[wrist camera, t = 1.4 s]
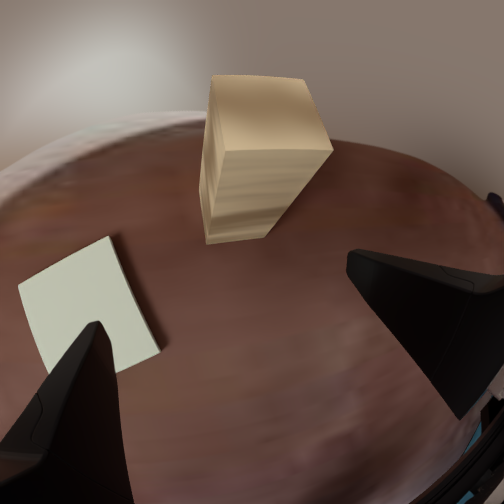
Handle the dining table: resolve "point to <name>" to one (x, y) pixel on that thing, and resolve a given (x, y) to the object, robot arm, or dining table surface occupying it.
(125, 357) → the tile
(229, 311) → the dining table surface
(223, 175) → the oak block
